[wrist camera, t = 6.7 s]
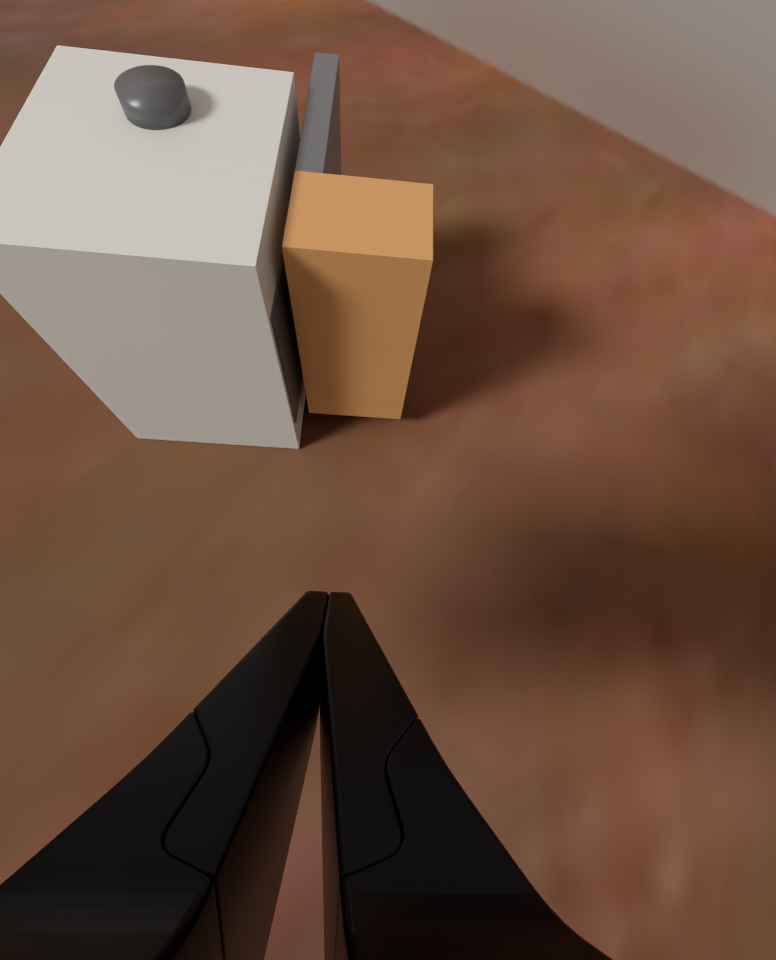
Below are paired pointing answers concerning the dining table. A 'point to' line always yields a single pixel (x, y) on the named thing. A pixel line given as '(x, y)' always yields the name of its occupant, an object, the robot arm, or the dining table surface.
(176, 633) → the dining table surface
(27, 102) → the block
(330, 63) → the side door
